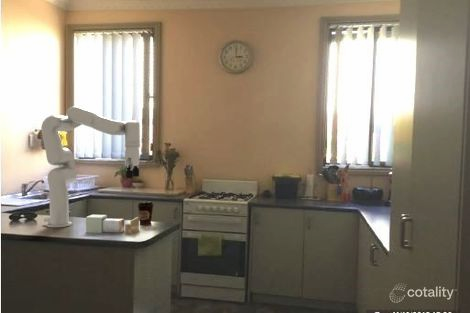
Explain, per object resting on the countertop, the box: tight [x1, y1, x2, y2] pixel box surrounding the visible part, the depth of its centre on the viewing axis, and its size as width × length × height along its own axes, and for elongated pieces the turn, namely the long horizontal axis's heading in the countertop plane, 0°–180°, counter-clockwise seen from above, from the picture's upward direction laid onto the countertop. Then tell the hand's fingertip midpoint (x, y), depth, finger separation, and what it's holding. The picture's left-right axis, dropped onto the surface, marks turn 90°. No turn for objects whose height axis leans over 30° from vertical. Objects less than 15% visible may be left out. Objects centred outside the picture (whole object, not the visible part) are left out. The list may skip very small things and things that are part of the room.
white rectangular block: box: [102, 218, 125, 233], centre depth 217 cm, size 17×4×6 cm, turn 83°
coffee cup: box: [137, 200, 154, 227], centre depth 233 cm, size 9×8×13 cm
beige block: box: [124, 216, 140, 235], centre depth 215 cm, size 4×9×7 cm, turn 173°
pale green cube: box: [85, 214, 108, 234], centre depth 217 cm, size 8×7×8 cm
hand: (132, 177), depth 221 cm, fingers open, 9 cm apart
